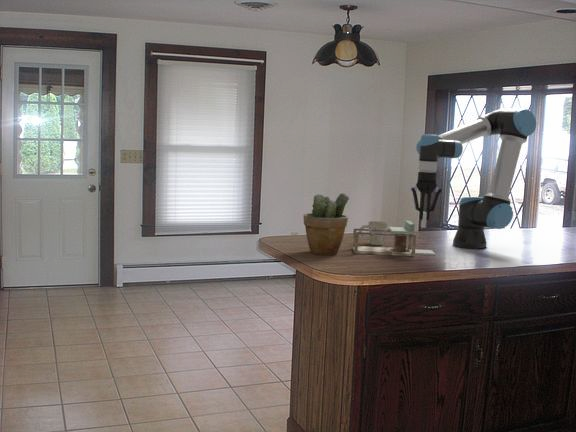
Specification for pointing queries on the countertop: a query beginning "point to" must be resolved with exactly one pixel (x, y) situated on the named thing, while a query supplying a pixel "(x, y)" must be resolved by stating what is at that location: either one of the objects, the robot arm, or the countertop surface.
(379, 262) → the countertop surface
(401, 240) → the block
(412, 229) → the cover
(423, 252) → the coaster
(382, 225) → the mug
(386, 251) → the grey rectangular frame
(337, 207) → the potted plant
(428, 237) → the countertop surface
